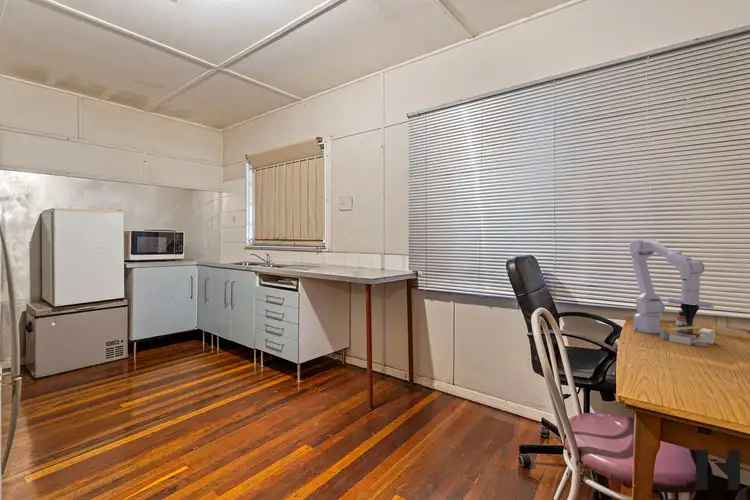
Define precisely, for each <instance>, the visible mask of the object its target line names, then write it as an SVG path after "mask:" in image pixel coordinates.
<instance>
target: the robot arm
mask: <svg viewBox="0 0 750 500" xmlns="http://www.w3.org/2000/svg"><path fill="white" fill-rule="evenodd" d="M628 246H629V251H630V255H631V261H632V265H633V270H634V274H635V278H636V282H637V287H638V290H639V293H640V295H639V296H638V297H636V299H635V301H636V305H635V307H636V311H637V312H638V313H635V314H634V317H633V328H632V330H633V332H635V331H636V332H641V333H645V334H660V323H661V322H660V321H661V319H660V318H661V316H662V314H663V313H664V312H665V308H666V306H665V304H664V302H663V301H662V298H661V297H660V296H659V295H658V294H656V292H655V289H654V286H653V282H652V277H651V275H650V274H651V273H650V271H649V270H650V269H649V267H648V262H647V260H648V259H649V258H650V257H651V256H652V255H654V253H656V254H657V255H660V256H661V257H663V258H665V259H666V262H667V263H668V264H670V265H672V266H674V267H675V268H676V269H678V271H679V272H678V273H680V279H681V293H680V295H681V298H671V297H669V298H667V304H674V305H675V304H676V305H680V307H679V308H680V309H681V310H682V311H683V313H684V315H685V318H686V323H689V324H691V323H692V322H693V323H694V318H695V316H696V314H697V312H698V311H699V309H700V308H708V309H714V308H715V303H714V302H708V301H701V300H700V293H701V292H700V290H701V275H702V274H703V273H704V271H705V265H704V263H703V262H702V261H701V260H698V259H695V260H693V259H692V258H691V257H690V256H686V255H684V254H683V252H682V251H679V250H677V251H676V250H675V251H672V250H671V249H669V248H667V247H666V246H664V245H663V244H661V242H660V241H659V240H657V239H655V238H634V239H632V240H631V242H630V244H629V245H628Z"/></svg>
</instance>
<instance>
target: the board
mask: <svg viewBox="0 0 750 500" xmlns="http://www.w3.org/2000/svg"><path fill="white" fill-rule="evenodd" d="M665 329H669V327H666V326H663V327H662V328H661V327H659V339H660V340H666V339H669V331H665ZM694 346H697V347H703V348H704V347H707V343H706V341H701V340H700V339H696V340H695V343H694Z"/></svg>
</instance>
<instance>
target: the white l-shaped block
mask: <svg viewBox="0 0 750 500" xmlns="http://www.w3.org/2000/svg"><path fill="white" fill-rule="evenodd" d="M697 333H698V334H700V335H699V340H701V341H706V344H710V345H713V344H715V335H716V334H715V333H716V330H715V329H709V328H705V327H704V328H703V327H702V328H700V329H699V330H698V331H697Z"/></svg>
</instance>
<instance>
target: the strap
mask: <svg viewBox="0 0 750 500" xmlns="http://www.w3.org/2000/svg"><path fill="white" fill-rule="evenodd" d="M668 328H669V327H668ZM701 328H703V325H702V324H701V325H693V326H689V327H679V328H676V327H672V328H671V327H670V328H669V329H665V331H668V332H674V331H675V332H676V330H685V329H693V330H695V329H701Z"/></svg>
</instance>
